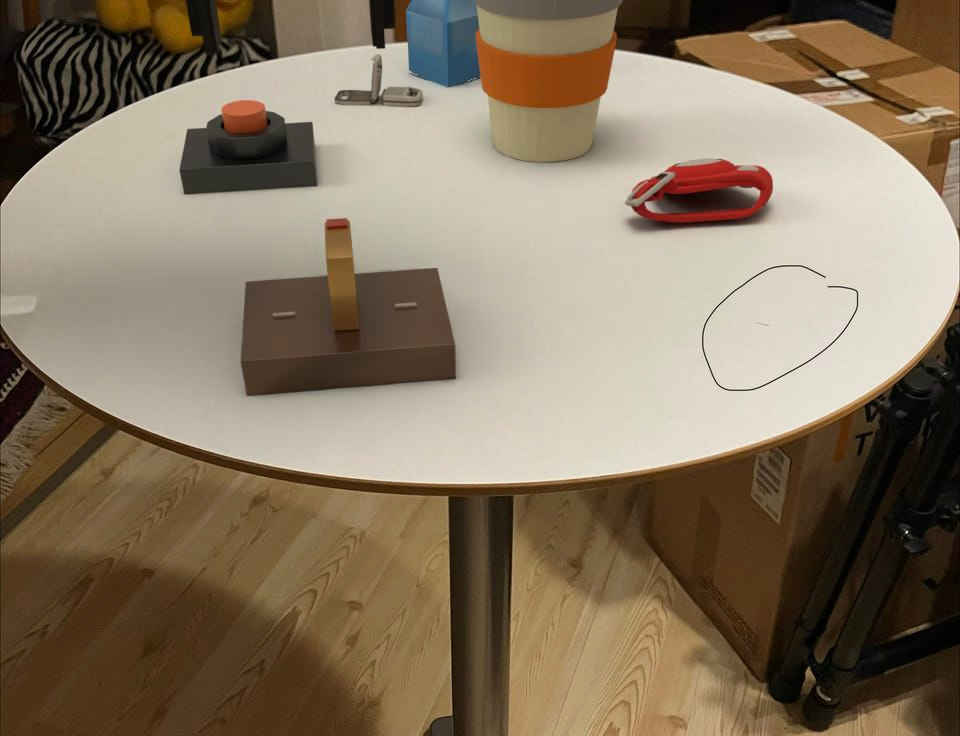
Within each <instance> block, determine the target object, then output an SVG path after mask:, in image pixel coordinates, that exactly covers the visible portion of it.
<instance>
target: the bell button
mask: <svg viewBox="0 0 960 736" xmlns="http://www.w3.org/2000/svg"><path fill="white" fill-rule="evenodd" d="M220 110H221V114H222V116H223V122H224V128H225V131H227V132H233V133H252V132H256V131H259V130H263V129H264V128H266V127H267V126H268V125H267V117H266V111H267V110H266V105H265V104H264V103H263V102H261V101H258V100H254V99H253V100H252V99H244V100H242V99H241V100H235V101H231V102H229V103H226V104H224V105H223V106H222V107H221V109H220Z"/></svg>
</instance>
